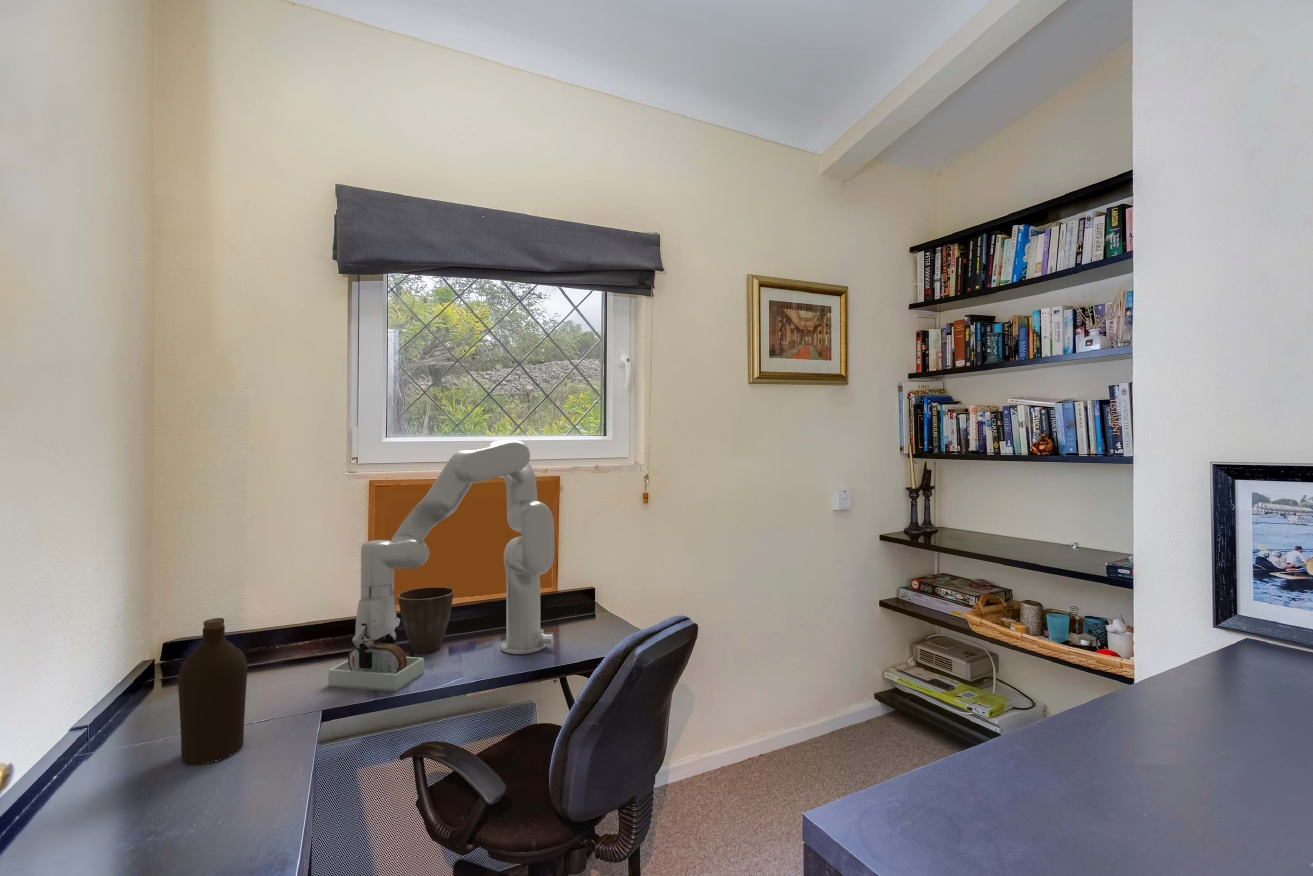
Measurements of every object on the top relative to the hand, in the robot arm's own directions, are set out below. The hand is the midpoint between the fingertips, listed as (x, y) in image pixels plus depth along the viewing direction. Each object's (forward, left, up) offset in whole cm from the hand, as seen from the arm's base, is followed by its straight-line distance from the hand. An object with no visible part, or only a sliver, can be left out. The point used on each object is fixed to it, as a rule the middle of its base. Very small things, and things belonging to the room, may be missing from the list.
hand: (377, 661), depth 148 cm
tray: (0, 0, -5) cm, 5 cm away
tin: (0, 0, -4) cm, 4 cm away
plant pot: (+1, -23, -5) cm, 24 cm away
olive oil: (+8, +37, -5) cm, 38 cm away
